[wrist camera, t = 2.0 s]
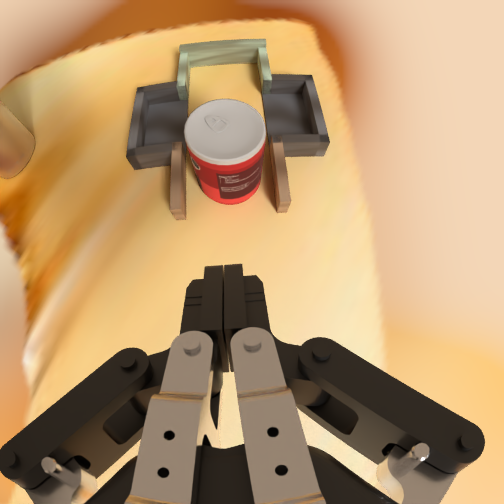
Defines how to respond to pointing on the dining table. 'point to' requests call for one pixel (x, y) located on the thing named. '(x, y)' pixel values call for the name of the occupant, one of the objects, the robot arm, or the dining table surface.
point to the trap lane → (275, 107)
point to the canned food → (226, 149)
